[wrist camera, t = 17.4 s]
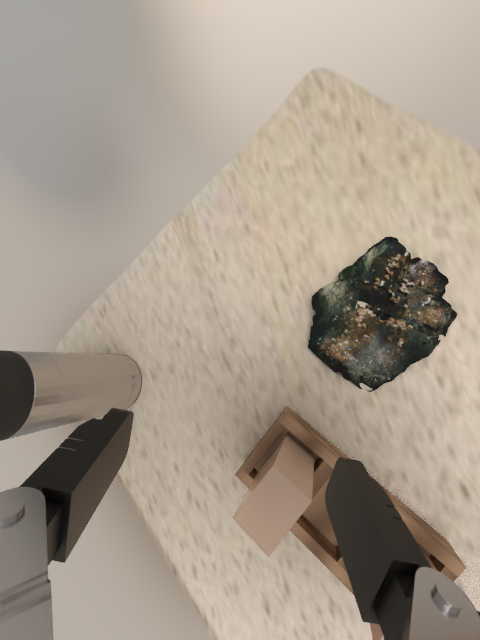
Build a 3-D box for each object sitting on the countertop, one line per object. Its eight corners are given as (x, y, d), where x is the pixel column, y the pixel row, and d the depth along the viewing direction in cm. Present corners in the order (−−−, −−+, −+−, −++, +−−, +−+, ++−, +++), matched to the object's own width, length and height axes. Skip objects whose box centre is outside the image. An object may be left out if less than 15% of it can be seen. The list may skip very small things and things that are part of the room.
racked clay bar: (260, 466, 35) (232, 517, 24) (288, 430, 35) (273, 465, 23) (285, 490, 34) (268, 556, 22) (314, 453, 33) (312, 501, 22)
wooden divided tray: (243, 463, 37) (235, 474, 33) (286, 406, 37) (283, 411, 33) (391, 608, 30) (402, 644, 26) (447, 540, 30) (466, 567, 26)
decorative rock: (371, 212, 34) (507, 266, 28) (365, 238, 39) (477, 287, 33) (284, 335, 33) (404, 416, 27) (290, 343, 39) (391, 411, 33)
